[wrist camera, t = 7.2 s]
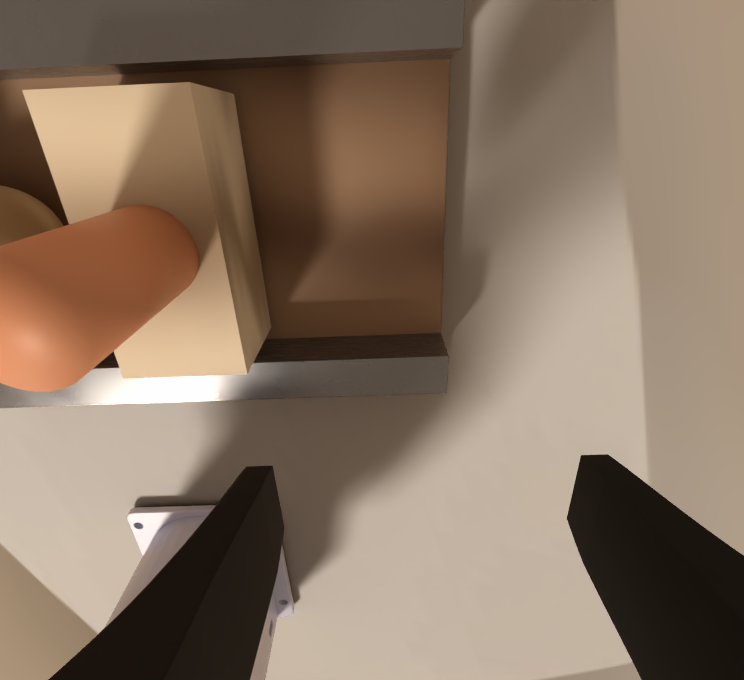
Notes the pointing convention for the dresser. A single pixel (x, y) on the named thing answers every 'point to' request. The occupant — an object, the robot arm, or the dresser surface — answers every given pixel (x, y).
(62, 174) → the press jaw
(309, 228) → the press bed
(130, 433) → the dresser surface
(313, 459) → the dresser surface
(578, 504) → the robot arm
